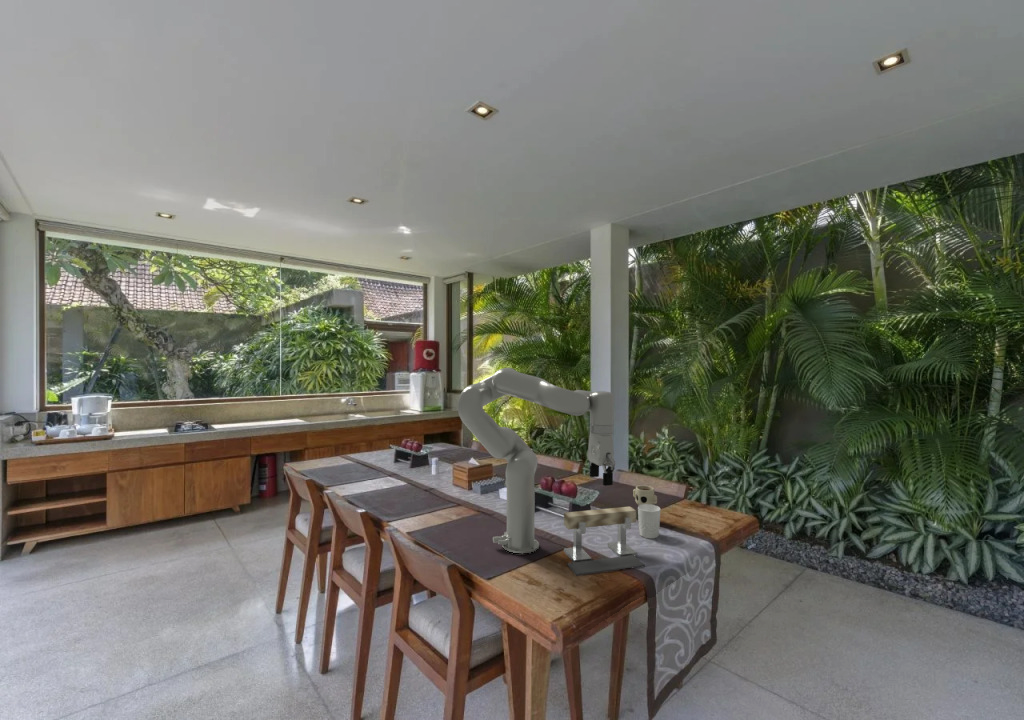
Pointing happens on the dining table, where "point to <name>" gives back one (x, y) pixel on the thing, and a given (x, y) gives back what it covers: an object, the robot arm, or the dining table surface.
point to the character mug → (644, 495)
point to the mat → (604, 565)
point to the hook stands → (618, 547)
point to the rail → (599, 517)
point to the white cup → (649, 520)
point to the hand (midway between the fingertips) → (600, 480)
